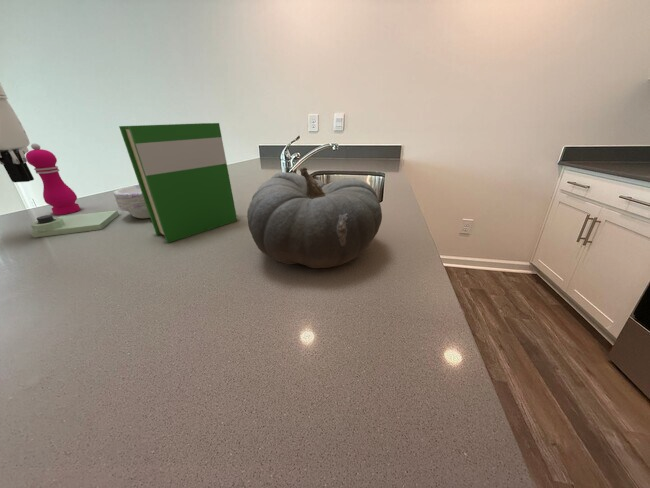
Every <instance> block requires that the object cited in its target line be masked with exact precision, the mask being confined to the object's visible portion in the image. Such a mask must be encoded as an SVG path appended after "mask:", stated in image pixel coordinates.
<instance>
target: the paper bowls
mask: <svg viewBox="0 0 650 488" xmlns="http://www.w3.org/2000/svg"><path fill="white" fill-rule="evenodd" d="M113 196H114V198H115V202H116V205H117V207H118V208H119V209H118V210H120V211H122V212H123V211H124V212H128V213H129V214H130V215H131V216H132V217H134V218H138V219H151V218H150V215H149V212H148V209H147V206H146V203H145V200H144V197H143V194H142V192H141V189H140V186H139V184H135V185H130V186H125V187H122V188H118V189H116V190H114V191H113Z"/></svg>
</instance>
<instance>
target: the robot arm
mask: <svg viewBox="0 0 650 488" xmlns="http://www.w3.org/2000/svg"><path fill="white" fill-rule="evenodd" d="M8 100H9V98H8V96H7V94H6V91H5V89H4V87H3V85H2V84H1V82H0V165H2V166H3V167H4V169H5V172H6V173H7V175H8V177H9V178H10V180H11V182H12V183H27V182H29V183H30V182H31V181H34V180H35V178H34V175H33V174H32V172H31V170H30V167H29V166H28V164H27V163H28V162H27V160H26V154H27V153H28V152H29V151H30V150H29V148H28V147H29V146H30V145H31V144H30V139H29V136H28V135H27V132H26V130H25V127H24V126H23V124H22V122H21V121H20V119H19V118H18V115H17V113H16V112H15V110H14V109H13V107H12V105H11V104H10V103H9V101H8Z"/></svg>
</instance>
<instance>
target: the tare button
mask: <svg viewBox="0 0 650 488" xmlns="http://www.w3.org/2000/svg"><path fill="white" fill-rule="evenodd" d="M54 218H55V217H53V215H52V214H46V215H40V216H37V217H36V221H38V222H39V224H45V223H49V222H53V221H55V220H54Z"/></svg>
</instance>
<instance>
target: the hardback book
mask: <svg viewBox="0 0 650 488" xmlns="http://www.w3.org/2000/svg"><path fill="white" fill-rule="evenodd" d="M220 126H221V125H220V123H219V122H207V123H206V122H202V123H201V122H199V123H198V122H197V123H174V124H173V123H172V124H170V123H169V124H146V125H144V124H143V125H142V124H141V125H119V126H118V128H119V130H120V133H121V136H122V139H123V142H124V145H125V148H126V152H127V153H128V156H129V160H130V162H131V163H130V164H131V165H132V168H133V171H134V174H135V177H136V180H137V183H138V185H139V186H140V189H141V192H142V194H143V197H144V200H145V203H146V206H147V209H148V212H149V215H150V218H149V219H150V220H151V223H152V226H153V230H154V232H155V235H156V236H164V238H165V241H166V243H168V244H170V243H172V242H176V241H179V240H182V239H186V238H189V237H192V236H194V235H197V234H201V233H203V232H207V231H210V230H213V229H216V228H219V227H223V226H225V225H229V224H231V223H234V222H237V221H238V217H237V216H238V215H237V211H236V206H235V201H234V195H233V190H232V184H231V180H230V174H229V169H228V164H227V163H228V162H227V158H226V152H225V147H224V142H223V137H222V131H221V127H220Z"/></svg>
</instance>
